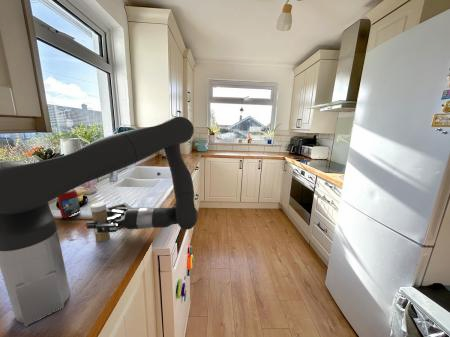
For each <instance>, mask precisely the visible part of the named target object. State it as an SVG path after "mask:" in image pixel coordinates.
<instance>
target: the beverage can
mask: <svg viewBox="0 0 450 337" xmlns="http://www.w3.org/2000/svg"><path fill="white" fill-rule="evenodd" d="M57 201H58V207H59V211H60V215H61V218H63V217H64V219H69V218H68V217H69V216H71V215H72V214H74V213H77V212H79V211H80V212H81V208H80V207H81V206H80V202H79V201H80V200H79V197H78V192H77V191H76V190H75V188H74V189H72V190H70V191H68V192H66V193H64V194H62V195H60V196H58V197H57Z"/></svg>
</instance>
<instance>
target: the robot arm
mask: <svg viewBox="0 0 450 337" xmlns="http://www.w3.org/2000/svg"><path fill="white" fill-rule="evenodd" d="M194 130H195V128H194V124H193V123H192V121H190V120H189V119H188V118H186V117H185V116H174V117H172V118H170V119H168V120H165V121H163V122H162V123H159V124H157V125H153V126H148V127H142V128H135V129H131V130H127V131H123V132H122V131H121V132H118V133H114V134H111V135H107V136H104V137H100V138H99V139H95V140H94V141H92V142H90V143H88V144H86V145H84V146H82V147H80V148H79V149H76V150H75V151H73V152H70V153H68V154H64V155H61V156H57V157H52V158H49V159H44V160H40V161H35V162H32V163H27V162H24V161H17V160H9V161H8V160H7V161H0V272H1V275H2V279H3V282H4V286H5V288H6V292H7V296H8V298H9V302H10V305H11V308H12V311H13V314H14V317H15V320H16V322H18V321H19V322H18V323H20V322H21V323H20V324H23V325H24V327H25V328H27V327H29V326H30V325H29V324H31V323H33V322H34V321H36V320H38V319H40V318H42V317H44V316H46V315H48V314H50V313H52V312H54V311H56V310H58V309H60V308H62V307H64V308H65V303H66V302H67V300H68V299H69V298H70V295H71V289H70V284H69V279H68V274H67V269H66V266H65V261H64V255H63V252H62V247H61V241H60V237H59V232H58V227H57V223H56V219H55V216H54V215H53V213H52V210H51V208H50V204H49V202H51V201H53V200H55V199H56V198H58V196H60V195H62V194H64V193H66V192H68V191H70V190H72V189H74V190H75V188H78V187H80V186H81V185H85V184H86V183H88V182H91V181H94V180H97V179H100V178H103V177H104V176H108V175H110V174H111V173H115V172H117V171H120V170H123V169H125V168H128V167H129V166H132V165H135V164H137V163H138V162H140V161H142V160H145V159H146V158H149V157H151V156H153V155H154V154H156V153H158V152H160V151H162V150H164V153H165V157H166V160H167V164H168V166H169V171H170V175H171V179H172V186H173V191H174V192H173V193H174V198H175V206H171V207H150V206H149V207H147V206H146V207H145V206H144V207H132V206H130V207H117V208H116V210H115V209H113V210H111V211H106V212H107V217H110V218H106V220H104V221H100V222H99V221H98V222H93V221H87V222H86V224H85V225H86V229H87V230H88V229H91V230H94V229H97V233H106V232H109V233H117V232H118V229H119V228H118V227H120V226H123V227H125V228H126V229H127V230H146V229H147V230H149V229H155V228H156V229H157V228H158V229H159V228H160V229H161V228H168V227H170V226H172V225H178V227H180V228H181V229H183V230H185V231H186V230H187V231H188V230H191V229H192V228H193V227H195V226H196V224H197V221H198V218H199V212H198V209H197V208H196V207H195V189H194V188H195V187H194V184H193V183H194V181H193V178H192V175H191V173H190V170H189V168H188V167H187V164H186V163H185V162H184V159H183V157H182V153H181V144H185V143H187V142H188V141H189V142H190V140H191V139H192V137H193V136H194V132H195V131H194ZM120 210H122V211H120ZM112 216H113V217H112ZM109 221H110V222H111V224H109ZM103 223H106V224H103ZM120 228H121V227H120ZM62 309H63V308H62ZM60 310H61V309H60ZM58 311H59V310H58ZM33 324H34V323H33ZM28 325H29V326H28ZM31 325H32V324H31ZM26 326H27V327H26Z"/></svg>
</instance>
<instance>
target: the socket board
mask: <svg viewBox="0 0 450 337" xmlns="http://www.w3.org/2000/svg"><path fill="white" fill-rule="evenodd" d="M117 207H131V206H130V205H129V204H128V203H127V202H123V203H119V204H115V205H111V206H108V207H107V206H106V211H111V210H113V209H115V210H116V208H117ZM120 211H122V210H120ZM112 217H113V216H112ZM107 218H110V217H107ZM109 224H111V222H110V221H109ZM122 227H124V226H120V227H118V228H117V229H119V228H120V229H121V228H122Z"/></svg>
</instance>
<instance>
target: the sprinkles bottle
mask: <svg viewBox="0 0 450 337" xmlns="http://www.w3.org/2000/svg"><path fill="white" fill-rule="evenodd" d="M89 207H90V213H91V216H92V222H98V221H99V222H100V221H104V220H106V218H107V212H106V208H107V204H106V202H103V201H101V202H95V203H93V204H91V205H90V206H89ZM103 224H106V223H103ZM93 230H94V234H95V242H99V243H100V242H101V243H102V242H105V241H107V240H109V239H110V238H111V234H110V232H106V233H97V229H93Z"/></svg>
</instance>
